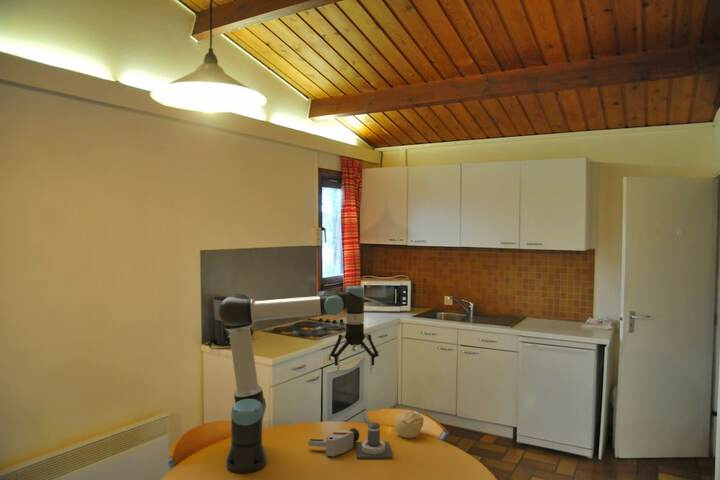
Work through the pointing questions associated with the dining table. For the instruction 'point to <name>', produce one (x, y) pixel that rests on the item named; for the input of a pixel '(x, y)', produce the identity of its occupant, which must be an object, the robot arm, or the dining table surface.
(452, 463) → the dining table surface
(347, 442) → the film camera
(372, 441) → the lens
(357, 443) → the mount
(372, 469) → the dining table surface
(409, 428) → the cream crumpled ball
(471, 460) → the dining table surface
